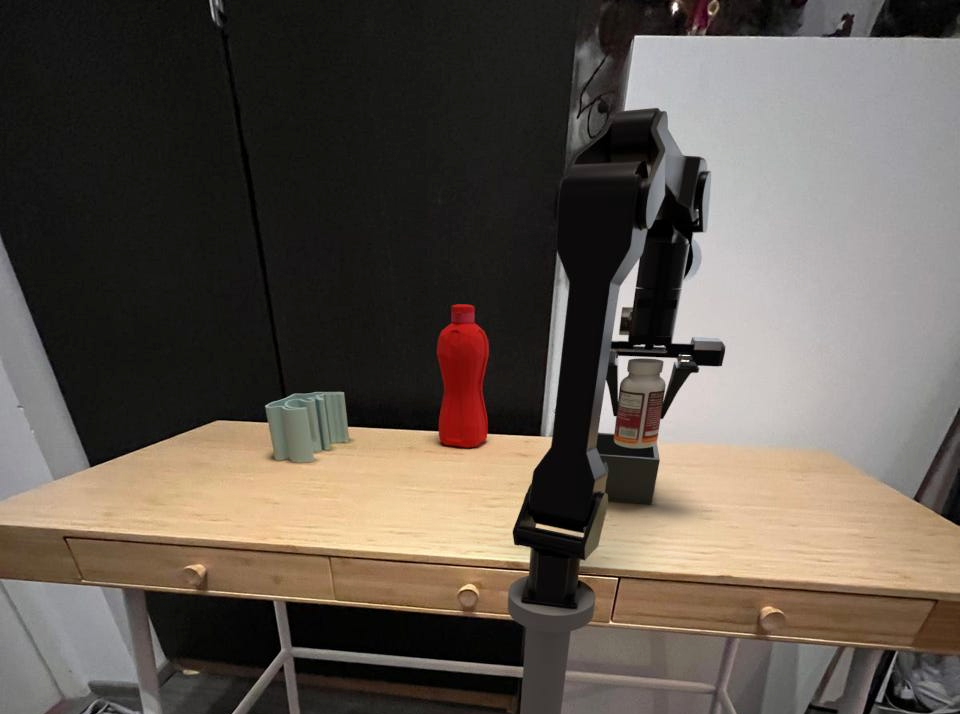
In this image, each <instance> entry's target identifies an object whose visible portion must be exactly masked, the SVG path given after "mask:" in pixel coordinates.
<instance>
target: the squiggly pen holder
mask: <svg viewBox="0 0 960 714" xmlns="http://www.w3.org/2000/svg"><path fill="white" fill-rule="evenodd" d="M264 407H265V413H266V419H267V424H268V429H269V435H270V440H271V445H272V451H273V457H274V460H275V461H283V460H284V461H285V460H290V461H291V462H292V463H296V464H300V463H301V464H303V463H311V462H314V461H315V456H314V453H319V452H322V451H323V450H324V451H330V450H331V444H334V443H337V444H342V443H346V444H347V443H349V442H350V434H349V425H348V414H347V407H346V397H345V392H343V391H314V392H310V393H292V394H290V395H289V396H287V397H285V398H282V399H279V400H275V401H271V402H269V403H267V404H266V405H264Z"/></svg>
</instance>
